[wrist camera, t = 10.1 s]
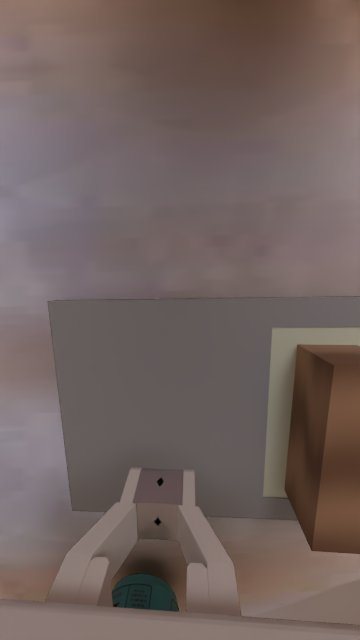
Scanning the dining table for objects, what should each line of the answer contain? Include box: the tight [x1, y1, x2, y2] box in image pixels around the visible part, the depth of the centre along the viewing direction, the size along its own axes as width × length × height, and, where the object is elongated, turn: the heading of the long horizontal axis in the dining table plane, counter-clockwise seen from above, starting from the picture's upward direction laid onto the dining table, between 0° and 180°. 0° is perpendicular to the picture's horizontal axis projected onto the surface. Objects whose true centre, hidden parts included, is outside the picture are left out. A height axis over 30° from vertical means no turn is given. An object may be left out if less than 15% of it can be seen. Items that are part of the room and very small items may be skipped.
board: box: [48, 296, 360, 520], centre depth 17 cm, size 18×29×1 cm, turn 91°
